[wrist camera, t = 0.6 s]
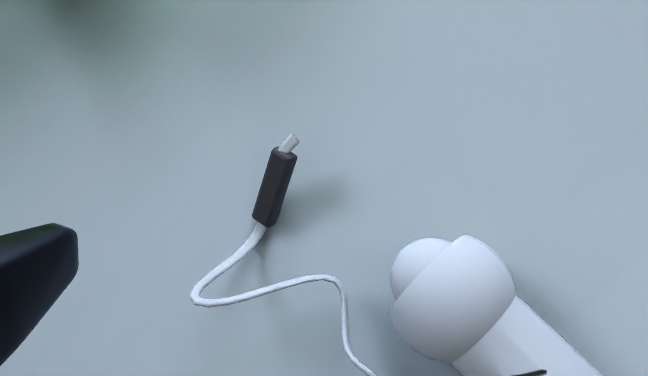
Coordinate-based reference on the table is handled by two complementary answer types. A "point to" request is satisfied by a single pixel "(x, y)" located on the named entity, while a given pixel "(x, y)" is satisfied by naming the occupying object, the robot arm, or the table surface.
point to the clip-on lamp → (431, 298)
